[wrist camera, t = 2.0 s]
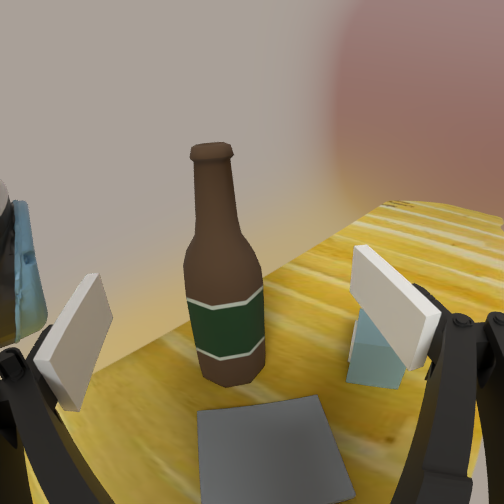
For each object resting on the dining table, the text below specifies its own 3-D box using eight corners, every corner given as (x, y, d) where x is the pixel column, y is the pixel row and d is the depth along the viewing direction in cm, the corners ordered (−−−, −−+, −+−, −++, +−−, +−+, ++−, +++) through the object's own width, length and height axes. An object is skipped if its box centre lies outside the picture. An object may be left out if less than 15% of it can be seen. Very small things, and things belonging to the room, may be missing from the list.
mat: (204, 523, 16) (202, 521, 16) (198, 415, 27) (197, 410, 27) (353, 498, 18) (355, 495, 17) (316, 399, 29) (317, 394, 28)
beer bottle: (187, 359, 35) (150, 149, 25) (240, 335, 39) (226, 138, 29) (221, 400, 29) (187, 151, 19) (279, 368, 33) (277, 141, 23)
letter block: (399, 354, 33) (410, 314, 31) (397, 389, 28) (412, 349, 26) (350, 347, 36) (357, 307, 33) (342, 382, 31) (351, 341, 28)
